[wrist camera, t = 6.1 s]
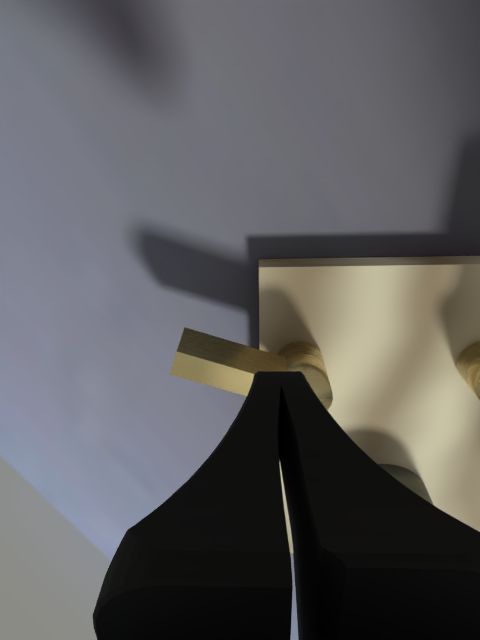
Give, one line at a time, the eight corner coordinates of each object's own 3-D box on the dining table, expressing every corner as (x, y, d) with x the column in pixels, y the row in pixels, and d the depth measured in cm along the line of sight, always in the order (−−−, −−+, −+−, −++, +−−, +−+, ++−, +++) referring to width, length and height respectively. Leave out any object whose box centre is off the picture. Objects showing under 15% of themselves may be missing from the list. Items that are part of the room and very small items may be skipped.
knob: (190, 307, 20) (180, 339, 18) (330, 349, 21) (342, 387, 18) (178, 348, 22) (166, 385, 19) (312, 387, 22) (320, 428, 19)
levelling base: (556, 254, 20) (633, 292, 16) (468, 539, 29) (503, 610, 25) (258, 259, 21) (259, 296, 17) (261, 537, 30) (261, 606, 26)
